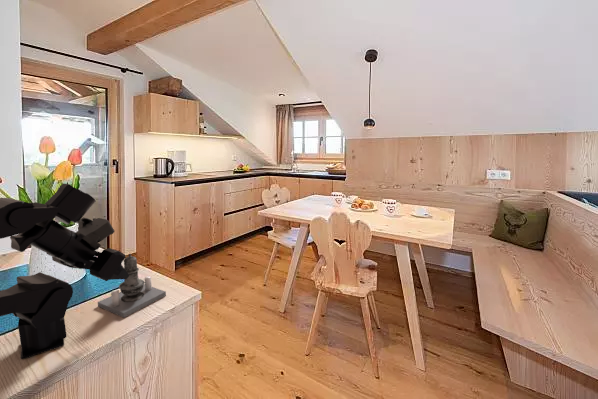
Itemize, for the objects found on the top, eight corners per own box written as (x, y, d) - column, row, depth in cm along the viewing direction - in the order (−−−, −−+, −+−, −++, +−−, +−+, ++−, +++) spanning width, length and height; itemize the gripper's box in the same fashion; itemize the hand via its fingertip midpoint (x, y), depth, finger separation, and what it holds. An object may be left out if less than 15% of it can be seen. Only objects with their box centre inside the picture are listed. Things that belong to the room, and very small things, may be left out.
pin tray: (123, 317, 71) (122, 299, 70) (98, 306, 75) (96, 289, 74) (165, 295, 81) (165, 279, 80) (141, 286, 86) (140, 271, 85)
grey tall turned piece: (149, 296, 78) (147, 253, 76) (126, 305, 74) (123, 259, 71) (138, 289, 82) (135, 247, 79) (115, 297, 77) (111, 253, 75)
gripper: (113, 215, 61) (161, 251, 73) (62, 204, 69) (112, 237, 81) (74, 264, 55) (132, 294, 67) (23, 246, 63) (83, 275, 75)
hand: (115, 272), depth 73 cm, fingers open, 9 cm apart
